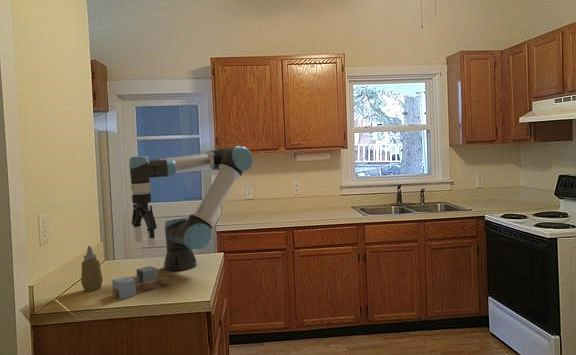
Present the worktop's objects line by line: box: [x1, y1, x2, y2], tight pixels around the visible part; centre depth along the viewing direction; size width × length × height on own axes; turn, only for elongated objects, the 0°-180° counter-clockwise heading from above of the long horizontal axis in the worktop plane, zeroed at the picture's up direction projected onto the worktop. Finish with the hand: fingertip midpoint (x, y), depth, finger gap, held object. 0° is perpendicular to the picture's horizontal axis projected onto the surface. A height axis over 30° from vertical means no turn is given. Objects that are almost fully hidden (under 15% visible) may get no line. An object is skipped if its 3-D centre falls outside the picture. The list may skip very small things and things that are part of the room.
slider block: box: [112, 275, 137, 300], centre depth 175 cm, size 7×7×6 cm
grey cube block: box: [136, 265, 159, 283], centre depth 192 cm, size 7×7×6 cm
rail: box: [111, 276, 171, 300], centre depth 180 cm, size 22×3×4 cm, turn 130°
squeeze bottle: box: [80, 245, 104, 293], centre depth 186 cm, size 8×8×18 cm
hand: (145, 244), depth 192 cm, fingers open, 13 cm apart
